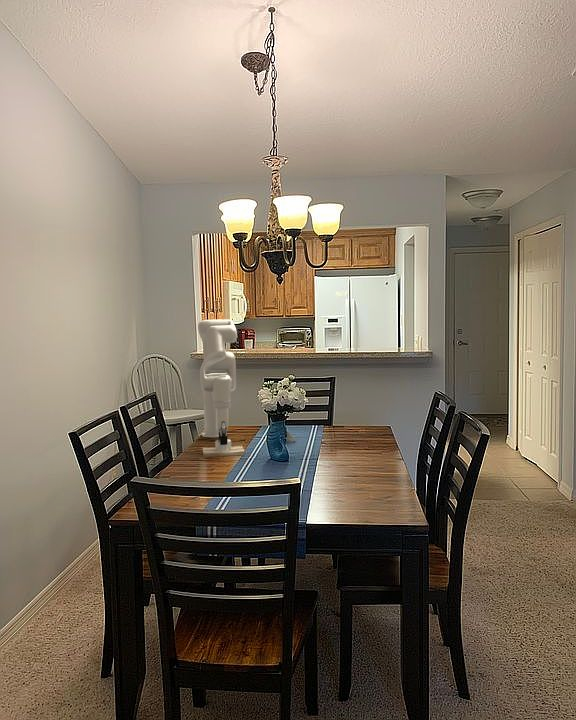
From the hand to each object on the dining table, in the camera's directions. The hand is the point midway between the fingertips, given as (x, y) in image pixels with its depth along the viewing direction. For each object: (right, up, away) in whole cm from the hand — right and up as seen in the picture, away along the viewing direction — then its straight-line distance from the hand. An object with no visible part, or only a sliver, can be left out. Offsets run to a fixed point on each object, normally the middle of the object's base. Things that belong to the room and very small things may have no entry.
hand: (223, 442), depth 293 cm
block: (0, -5, 0) cm, 5 cm away
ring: (0, -3, 0) cm, 3 cm away
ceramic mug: (+27, -3, +22) cm, 35 cm away
